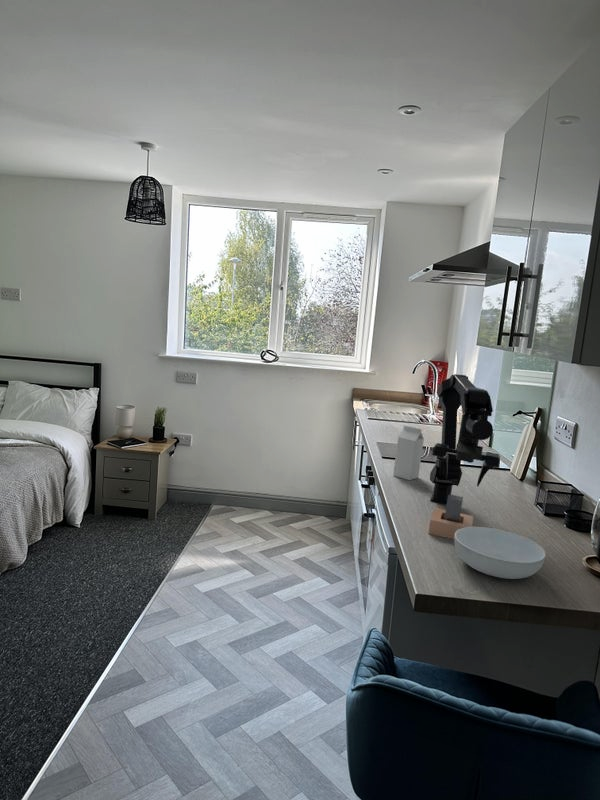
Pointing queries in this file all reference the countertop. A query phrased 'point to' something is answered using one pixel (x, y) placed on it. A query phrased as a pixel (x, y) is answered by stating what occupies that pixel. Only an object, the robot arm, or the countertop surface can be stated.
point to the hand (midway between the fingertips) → (461, 482)
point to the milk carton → (408, 453)
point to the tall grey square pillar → (453, 508)
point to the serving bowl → (499, 552)
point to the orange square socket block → (447, 524)
